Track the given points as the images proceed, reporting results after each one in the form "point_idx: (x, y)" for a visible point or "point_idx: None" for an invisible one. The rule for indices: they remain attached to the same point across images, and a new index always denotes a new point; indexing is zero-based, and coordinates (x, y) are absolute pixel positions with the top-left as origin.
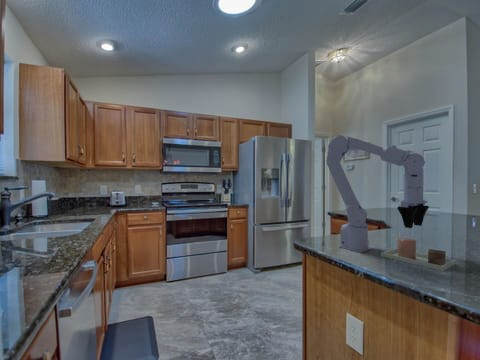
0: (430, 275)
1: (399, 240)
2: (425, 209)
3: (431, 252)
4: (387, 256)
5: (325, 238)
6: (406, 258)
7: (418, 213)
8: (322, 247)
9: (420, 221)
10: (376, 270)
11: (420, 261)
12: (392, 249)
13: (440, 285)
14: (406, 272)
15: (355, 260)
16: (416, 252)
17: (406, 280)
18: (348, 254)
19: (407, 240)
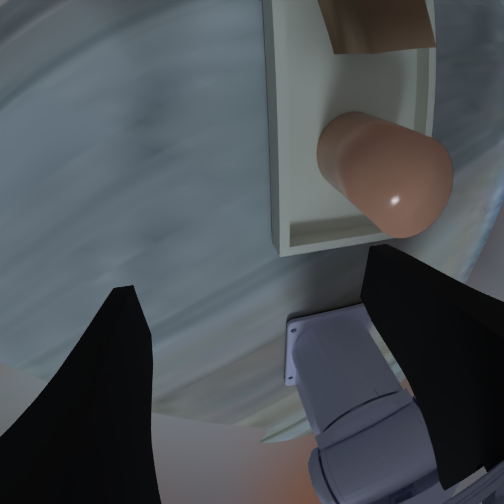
0: (454, 27)
1: (440, 209)
2: (67, 486)
3: (432, 32)
4: None
5: (276, 431)
6: (431, 127)
7: (126, 444)
8: None
9: (126, 327)
10: (501, 162)
11: (433, 70)
12: (325, 245)
13: (494, 5)
14: (476, 93)
15: (459, 248)
16: (281, 144)
17: None
18: None
19: (433, 176)
